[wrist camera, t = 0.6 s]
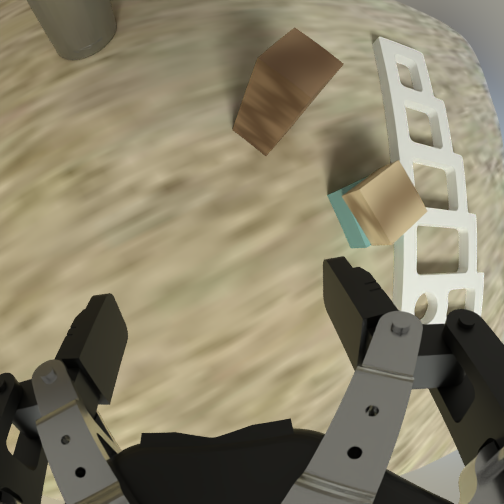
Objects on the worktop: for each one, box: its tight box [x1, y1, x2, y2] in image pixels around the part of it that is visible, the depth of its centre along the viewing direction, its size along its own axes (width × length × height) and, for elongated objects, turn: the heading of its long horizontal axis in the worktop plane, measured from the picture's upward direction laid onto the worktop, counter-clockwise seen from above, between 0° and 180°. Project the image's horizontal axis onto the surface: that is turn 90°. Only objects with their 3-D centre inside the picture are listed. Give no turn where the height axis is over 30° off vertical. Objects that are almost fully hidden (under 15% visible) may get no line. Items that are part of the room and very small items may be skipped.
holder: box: [372, 37, 484, 324], centre depth 39 cm, size 45×18×3 cm, turn 179°
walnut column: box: [233, 28, 343, 156], centre depth 28 cm, size 5×5×15 cm
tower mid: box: [342, 160, 427, 246], centre depth 32 cm, size 6×6×4 cm
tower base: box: [327, 177, 371, 248], centre depth 35 cm, size 7×7×4 cm
